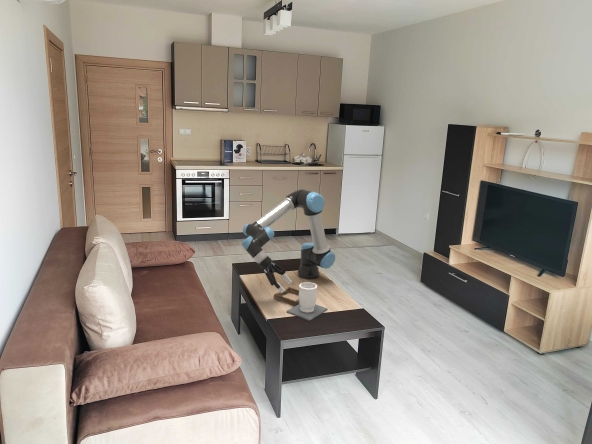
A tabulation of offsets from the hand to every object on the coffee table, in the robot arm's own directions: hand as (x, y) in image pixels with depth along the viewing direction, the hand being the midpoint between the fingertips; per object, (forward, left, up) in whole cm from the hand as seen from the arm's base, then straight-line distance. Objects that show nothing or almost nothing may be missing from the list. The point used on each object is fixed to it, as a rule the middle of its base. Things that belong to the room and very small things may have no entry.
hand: (287, 287), depth 263 cm
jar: (-3, +13, -11) cm, 17 cm away
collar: (-11, -4, -12) cm, 17 cm away
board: (-3, +13, -12) cm, 18 cm away
